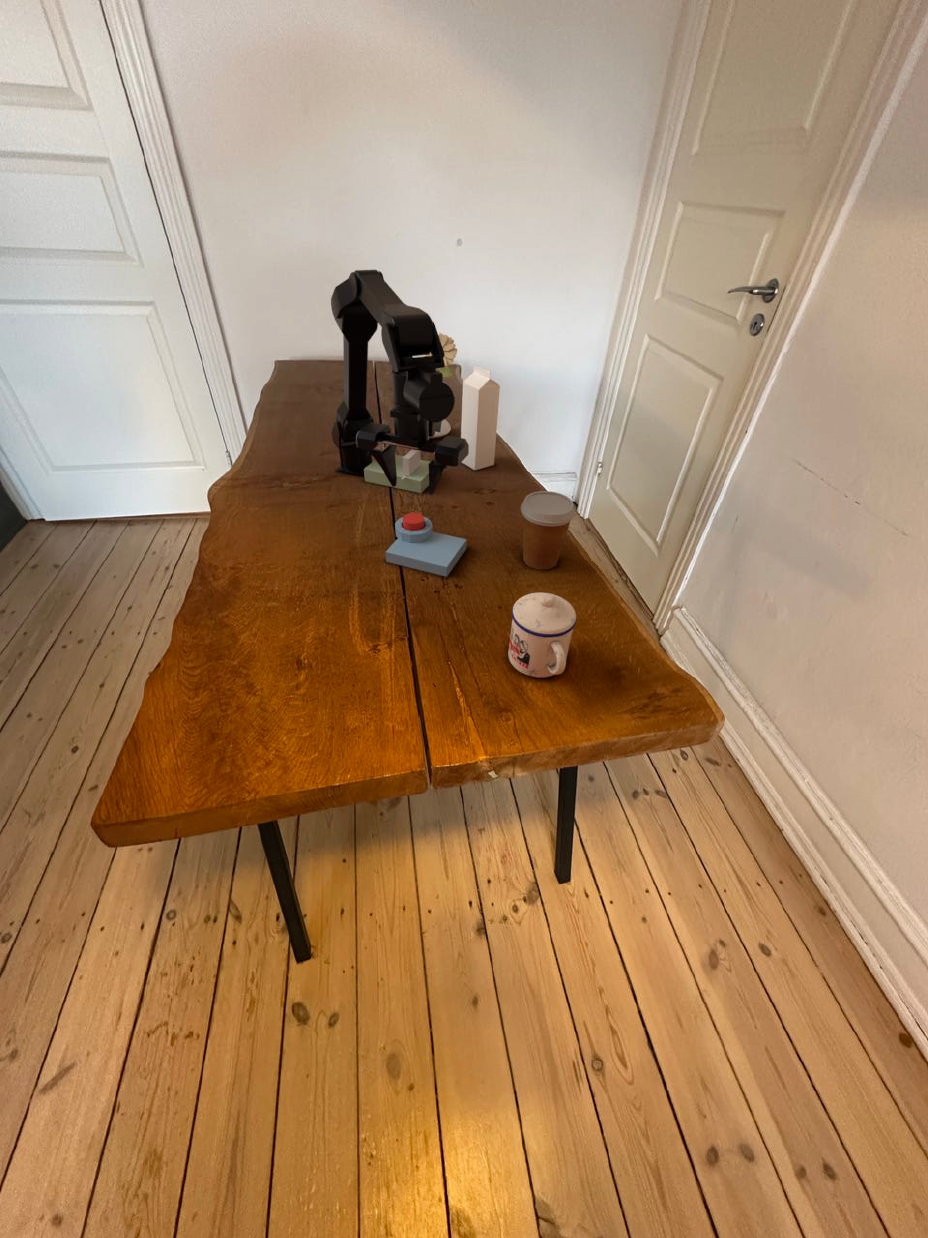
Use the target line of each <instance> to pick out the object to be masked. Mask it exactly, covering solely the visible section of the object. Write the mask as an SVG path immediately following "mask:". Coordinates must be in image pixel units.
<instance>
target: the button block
mask: <svg viewBox="0 0 928 1238" xmlns="http://www.w3.org/2000/svg"><path fill="white" fill-rule="evenodd" d="M394 525H395V526H394V528H395V529H394V530H395V537H396V538H397V539H395V541H394V542H393V543H392V544H391V545H390V546H389V547H388V548H387V550H386V551H385V561H386V562H387V563H390V564H393V565H394V564H395V565H399V566H402V567H406V568H410V569H415V570H419V571H422V572H427V573H430V574H434V575H437V576H442V577H448V576H449V575H450V573H451V572H452V570H453V569H454V568H455V566H456V565H457V563H458V562H459V561H460V559H461V558H462V556H463V554H464V552H465V551H466V550H467V541H468V540H467V538H464V537H463V538H462V537H458V536H454V535H451V534H445V533H441V532H437V531H434V529H433V528H434V526H433V521H432V520H430V519H429V518H428V517H426V516H424V529H422V530H419V531H409V530H405V529H404V527H403V517H400V518H398V519H397V521H395V523H394Z"/></svg>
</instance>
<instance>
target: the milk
mask: <svg viewBox="0 0 928 1238" xmlns="http://www.w3.org/2000/svg"><path fill="white" fill-rule="evenodd" d="M491 378H492V372H491V371H490V370H487V369H486V368H483V367H480V366H478V365H476V364H474V365H473V371H472V373H470V375H469V376H467V377H466V378H465V379H464V380H463V381H462V398H461V399H462V401H461V427H460V438H462V439H466V441H467V443H468V445H469V453H468V456H467V457H466V458H465V459H464V460H463V461H462V462H461V464H463V465H465V466H467V467H468V468H470V469H471V470H473V471H478V470H482V469H485V468H488V467H489V468H490V467H491V466H494V465H495V455H496V441H497V429H498V418H499V417H498V415H499V402H500V389H501V385H500V384H499V383H498V382H496V381H494V380H493V379H491Z"/></svg>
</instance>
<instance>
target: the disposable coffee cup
mask: <svg viewBox="0 0 928 1238" xmlns="http://www.w3.org/2000/svg"><path fill="white" fill-rule="evenodd" d="M574 505H575V504H574V501H573V500H572V499H571V498H570V497H568V496H567V495H565V494H562V493H560V492H555V491H549V490H539V491H534V492H531V493H528V494H527V495H526V496H525V497H524V499H523V501H522V503H520V511H521V514H522V550H523V553H522V555H523V557H522V558H523V559H522V560H523V562H524V564H525V565H527V566H528V567H530V568H532V569H535V570H541V571H543V570H550V569H553V568H554V567H556V566H557V564H558V560H559V557H560V554H561V551H562V549H563V545H564V543H565V539H566V536H567V533H568V530H569V527H570V524H571V522H572V521H573V519H574V517H575V515H576V509H575V506H574Z"/></svg>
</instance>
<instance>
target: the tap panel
mask: <svg viewBox="0 0 928 1238" xmlns="http://www.w3.org/2000/svg"><path fill="white" fill-rule="evenodd" d="M404 456H405V455H399V454H395V461H396V473H397V484H396V486H395V487H392V485H391V484H390V482H389V480H388V478H387V477H386V475H385V473H384V471H383V470H382V468H381V467H380V465H379V464H378V463H377V461H376V460H375V459H374V460H372V463H371V464H370V465H368V466H367V467H366V468H365V469H364V475H363V476H364V482H365V483H371V484H376V485H379V486H385V487H390V488H394V489H399V490H404V491H408V492H413V493H416V494H422V493H423V492H424V491H425V490H426V489H427V488H429V463H430V462H431V461H429V460H425V459H424V460H423V459H420V466H419V467H418V468H417V469H416V470H415V471H414V472H413V473H412V474H411V475H410V476H407V475H403V457H404Z"/></svg>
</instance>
